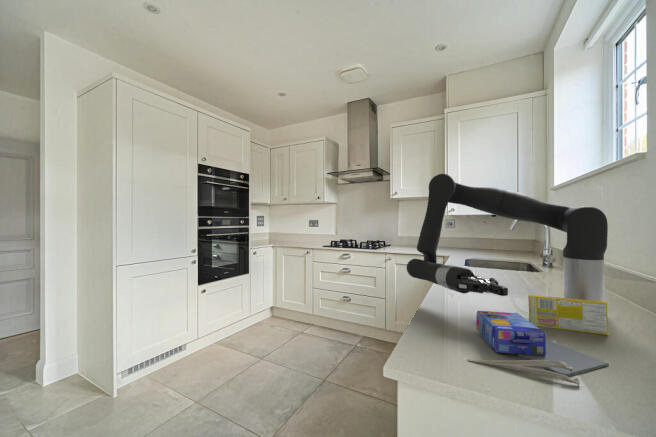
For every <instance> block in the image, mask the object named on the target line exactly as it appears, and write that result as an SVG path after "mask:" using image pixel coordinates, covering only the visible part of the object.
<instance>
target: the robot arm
mask: <svg viewBox="0 0 656 437" xmlns="http://www.w3.org/2000/svg"><path fill="white" fill-rule="evenodd" d="M449 203H451V204H456V205H460V206H461V205H462V206H466V207H469V208H472V209H475V210H478V211H481V212H485V213H487V214H491V215H494V216H499V217H502V218H505V219H511V220H516V221H521V222H529V223H534V224H540V225H543V226H546V227H549V228H552V229H555V230H559V231H560V232H565V233H566V244H565V246H564V247H563V250H562V266H563V268H562V272H563V273H562V274H563V278H562V280H563V282H562V283H563V287H562V288H563V298H570V299H582V300H594V301H604V302H606V285H605V253H606V251H607V248H608V235H609V234H608V232H609V231H608V229H609V226H608V218H607V216H606V214H605V213H604V211H602V210H601V209H600V208H598V207H594V206H588V205H587V206H586V205H584V206H583V205H582V206H566V205H561V204H555V203H554V204H553V203H550V202H545V201H543V200H540V199H537V198H535V197H532V196H530V195H528V194H525V193H522V192H518V191H514V190H509V189H504V188H497V187H480V186H478V187H477V186H469V185H466V184H465V185H464V184H462V183H458V182H455V180H454V178H453V176H451V175H449V174H448V173H439V174H436V175H434V176H433V177H432V178H431V180H430V181H429V184H428V199H427V207H426V211H425V215H424V219H423V223H422V226H421V228H420V233H419V237H418V241H417V244H416V250H417V252H419V253H420V254H422V255H423V259H421V258H412V259H410V260H409V261H408V263H407V264H406V271H407V274H409V276H410V277H412V278H415V279H419V280H423V281H427V282H431V283H432V284H435V285H438V286H441V287H442V288H443V287H444V288H445V289H448V290H451V291H455V292H457V293H460V294H468V293H477V294H485V293H486V294H494V295H497V296H501V297H505V296H509V289H508V287H507V286H504V285H499V281H498V280H496V279H495V278H493V277H490V278H488V279H487V278H483V277H482V276H480V275H475V274H474V272H473V271H472V270H471V269H469V268H466V267H461V266H456V265H452V264H443V263H438V261H437V260H438V258H437V250H438V248H439V247H438V246H439V242H440V237H441V233H442V227H443V223H444V222H443V221H444V217H445V212H446V209H447V206H448V204H449Z"/></svg>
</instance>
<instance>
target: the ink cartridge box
mask: <svg viewBox="0 0 656 437" xmlns="http://www.w3.org/2000/svg"><path fill="white" fill-rule="evenodd" d="M475 317H476V319H475V320H476V321H475V327H476V328H475V330H476V332H478V333H479V335H480V336H481V337H482V338H483V339H484V340H485V341H486V342H487V344H488V345H489V346H490V347H491V348H492V349H493V351H494V352H496V353H501V354H514V353H517V354H527V355H538V356H545V355H546V339H547V338H546V332H545V331H544V330H542V329H541V328H540V327H539V326H535V325H533V324H532V323H531V322H529V319H526V318H525V317H523V316H522V315H521V314H519V313H517V312H506V311H490V310H489V311H488V310H487V311H486V310H477V311H476V316H475ZM517 354H516V355H517ZM514 355H515V354H514Z"/></svg>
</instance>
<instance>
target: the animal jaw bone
mask: <svg viewBox="0 0 656 437" xmlns="http://www.w3.org/2000/svg"><path fill="white" fill-rule="evenodd" d="M467 361H468V362H472V363H476V364H483V365H489V366H498V367H502V368H507V369H513V370H517V371H523V372H529V373H533V374H537V375H542V376H545V377H549V378H553V379H557V380H562V381H565V382H567V383H572V384H576V385H580V384H581V381H580V380H579V378H578V376H576V377H570V376H568V377H567V376H566V375H562V374H559V373H554V372H552V371H550V370H544V369H539V368H535V367H541V366H542V367H541V368H543V367H558V368H564V369H567V370H569V371H571V372H573V371H572V370H573V368H572V367H571V366H569V365H568V364H566V363H565V362H559V361H548V360H527V359H522V360H520V359H519V360H507V359H506V360H504V359H503V360H496V359H495V360H488V359H487V360H486V359H485V360H484V359H467ZM551 362H553V363H555V364H551ZM528 366H529V367H528Z"/></svg>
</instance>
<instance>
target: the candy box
mask: <svg viewBox="0 0 656 437" xmlns="http://www.w3.org/2000/svg"><path fill="white" fill-rule="evenodd" d="M528 321H529V322H531V323H532V324H533V325H535V326H536V327H539V326H540V327H541V328H549V329H558V330H563V331H565V330H566V331H572V332H580V333H587V334H588V333H589V334H596V335H597V334H598V335H603V336H609V334H610V333H609V321H608V302H606V301H605V302H604V301H594V300H582V299H570V298H564V297H556V296H543V295H533V294H528ZM540 327H539V328H540Z"/></svg>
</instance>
